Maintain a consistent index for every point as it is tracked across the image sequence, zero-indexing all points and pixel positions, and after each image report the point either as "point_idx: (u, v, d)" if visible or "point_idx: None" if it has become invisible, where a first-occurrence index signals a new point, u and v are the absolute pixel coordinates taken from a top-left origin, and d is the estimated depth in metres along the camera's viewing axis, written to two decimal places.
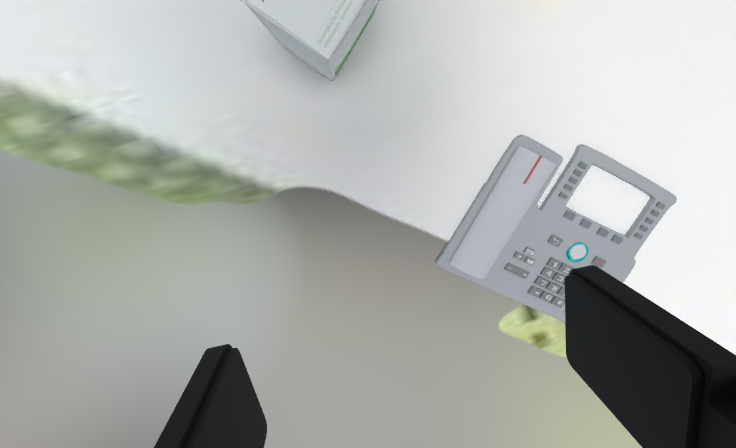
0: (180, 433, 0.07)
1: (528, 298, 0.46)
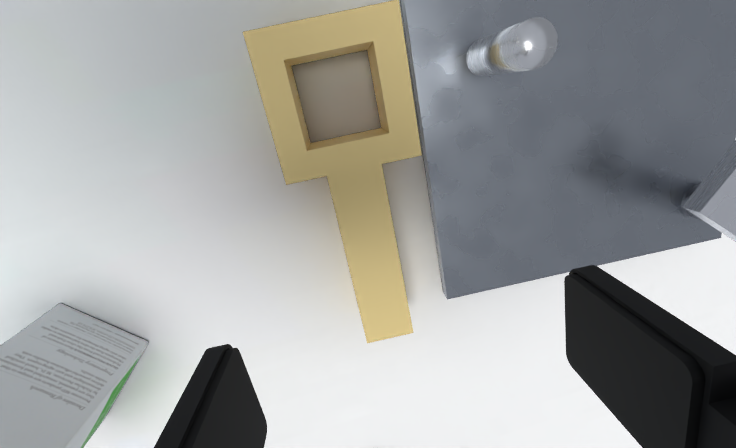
0: (180, 433, 0.07)
1: None
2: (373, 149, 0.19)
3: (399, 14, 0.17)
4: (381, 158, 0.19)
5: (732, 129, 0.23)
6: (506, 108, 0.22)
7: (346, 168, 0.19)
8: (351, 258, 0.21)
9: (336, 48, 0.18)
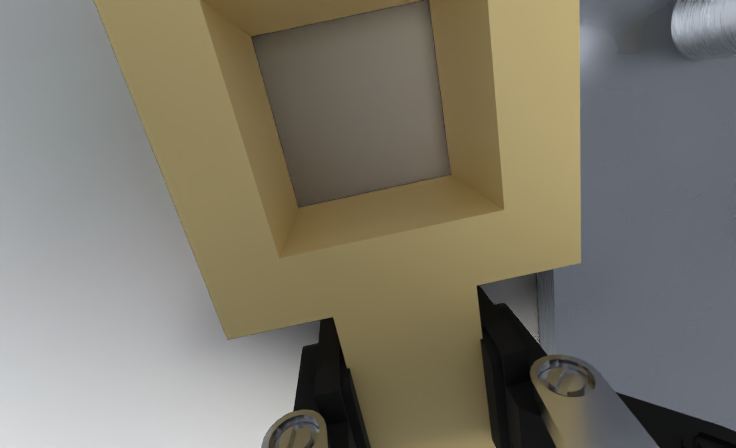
0: (335, 355, 0.08)
1: None
2: (458, 250, 0.07)
3: None
4: (477, 272, 0.07)
5: None
6: None
7: (385, 298, 0.07)
8: None
9: None
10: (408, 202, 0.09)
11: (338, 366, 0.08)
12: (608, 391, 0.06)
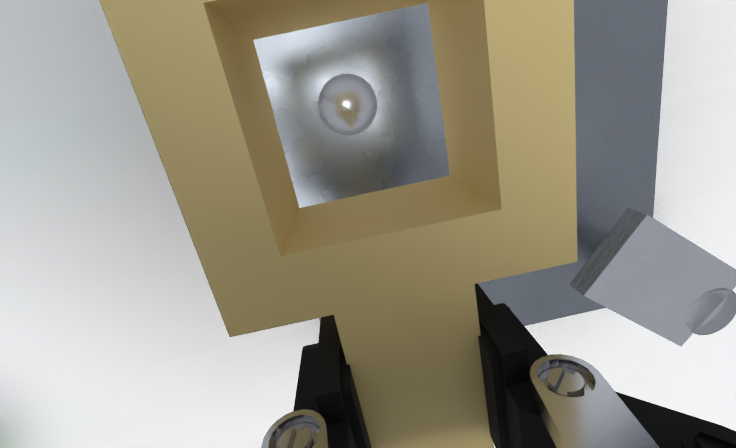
0: (335, 355, 0.08)
1: None
2: (457, 249, 0.07)
3: None
4: (475, 270, 0.07)
5: (650, 180, 0.20)
6: (378, 160, 0.19)
7: (385, 297, 0.08)
8: None
9: None
10: (407, 202, 0.09)
11: (338, 366, 0.08)
12: (608, 391, 0.06)
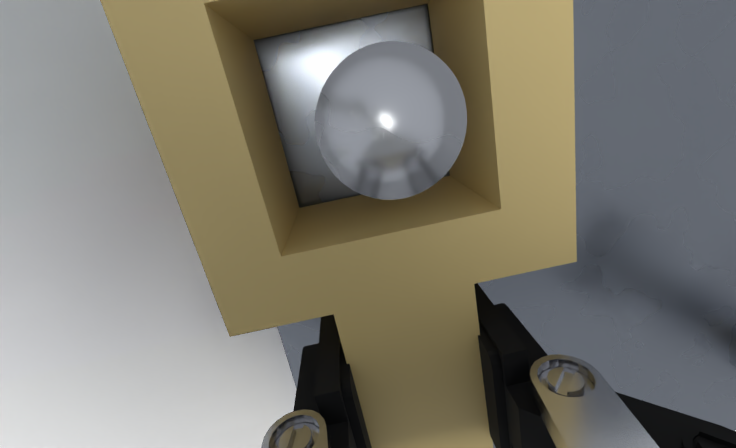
0: (335, 355, 0.08)
1: None
2: (456, 249, 0.07)
3: None
4: (474, 270, 0.08)
5: None
6: None
7: (385, 296, 0.08)
8: None
9: None
10: (407, 202, 0.09)
11: (338, 366, 0.08)
12: (608, 391, 0.06)
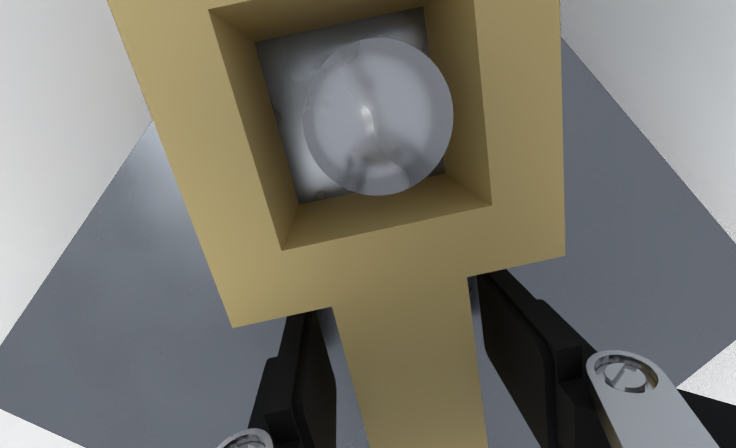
0: (291, 371, 0.08)
1: None
2: (449, 244, 0.08)
3: None
4: (467, 264, 0.08)
5: None
6: None
7: (381, 289, 0.08)
8: None
9: None
10: (403, 199, 0.09)
11: (292, 382, 0.08)
12: (672, 391, 0.06)
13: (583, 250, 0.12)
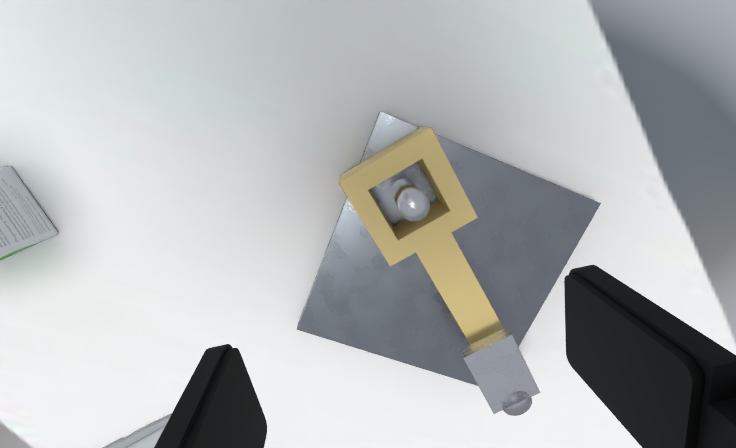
0: (180, 433, 0.07)
1: None
2: (442, 224, 0.27)
3: (434, 136, 0.25)
4: (449, 228, 0.27)
5: (528, 323, 0.34)
6: None
7: (428, 243, 0.27)
8: (448, 301, 0.29)
9: (399, 171, 0.26)
10: (426, 215, 0.28)
11: None
12: None
13: (502, 210, 0.30)
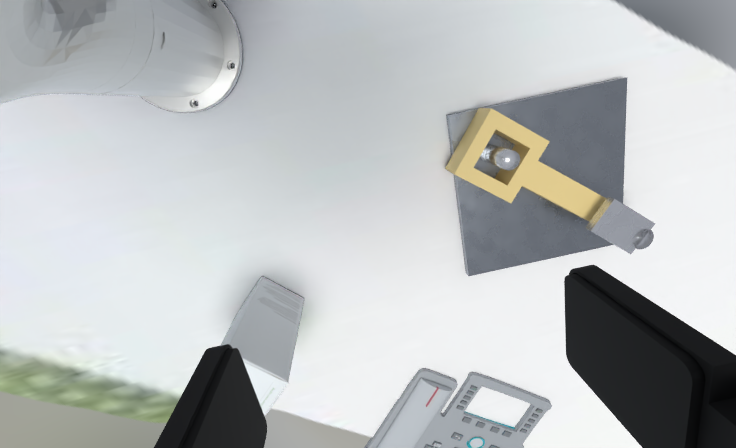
0: (180, 433, 0.07)
1: None
2: (530, 159, 0.39)
3: (496, 112, 0.37)
4: (535, 159, 0.39)
5: (620, 185, 0.44)
6: None
7: (526, 175, 0.39)
8: (559, 202, 0.40)
9: (485, 145, 0.38)
10: None
11: None
12: None
13: (560, 124, 0.41)
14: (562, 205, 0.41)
